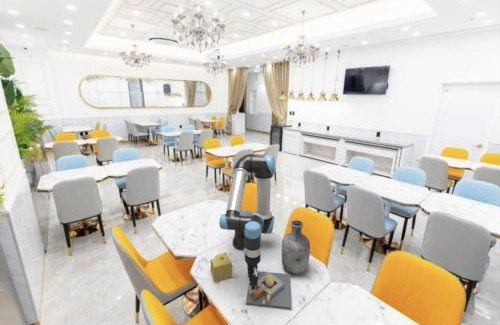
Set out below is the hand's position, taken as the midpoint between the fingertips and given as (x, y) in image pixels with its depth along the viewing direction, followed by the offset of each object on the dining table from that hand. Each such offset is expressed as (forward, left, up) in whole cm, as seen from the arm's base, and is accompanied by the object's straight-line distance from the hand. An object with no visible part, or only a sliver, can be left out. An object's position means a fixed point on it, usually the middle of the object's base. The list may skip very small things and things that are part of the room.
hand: (252, 292), depth 118 cm
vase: (-24, +22, -3) cm, 33 cm away
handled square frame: (-4, +6, -1) cm, 7 cm away
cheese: (-14, -20, -3) cm, 24 cm away
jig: (-6, +8, -3) cm, 11 cm away
